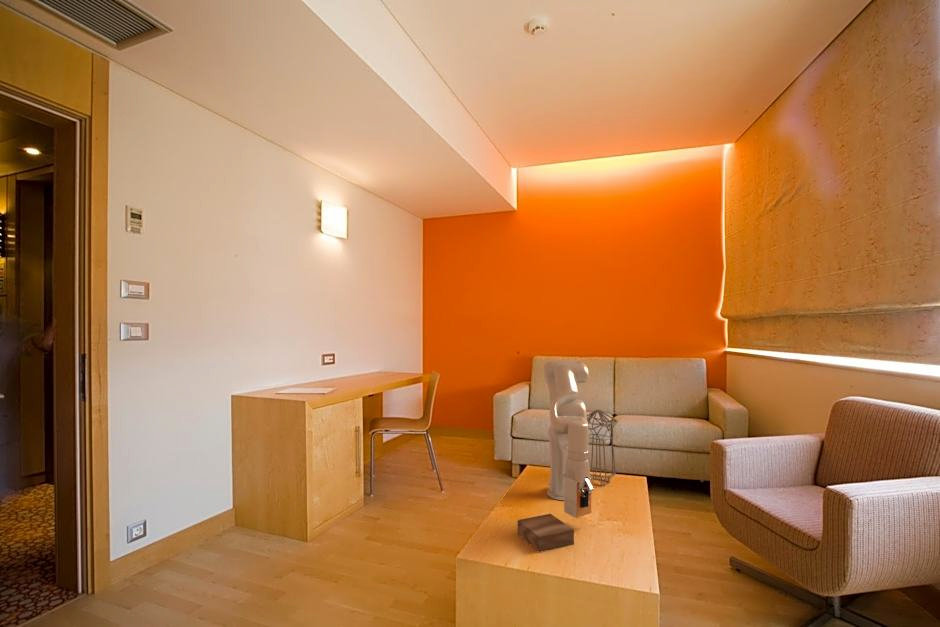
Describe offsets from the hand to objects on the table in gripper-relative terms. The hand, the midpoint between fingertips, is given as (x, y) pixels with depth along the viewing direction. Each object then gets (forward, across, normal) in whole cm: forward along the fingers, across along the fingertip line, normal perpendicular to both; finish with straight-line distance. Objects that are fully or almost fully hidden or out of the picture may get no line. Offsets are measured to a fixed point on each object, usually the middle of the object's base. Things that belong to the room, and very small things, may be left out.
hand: (577, 502), depth 160 cm
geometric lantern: (+11, -37, +41) cm, 56 cm away
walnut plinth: (+9, +3, -17) cm, 19 cm away
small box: (+4, 0, 0) cm, 4 cm away
